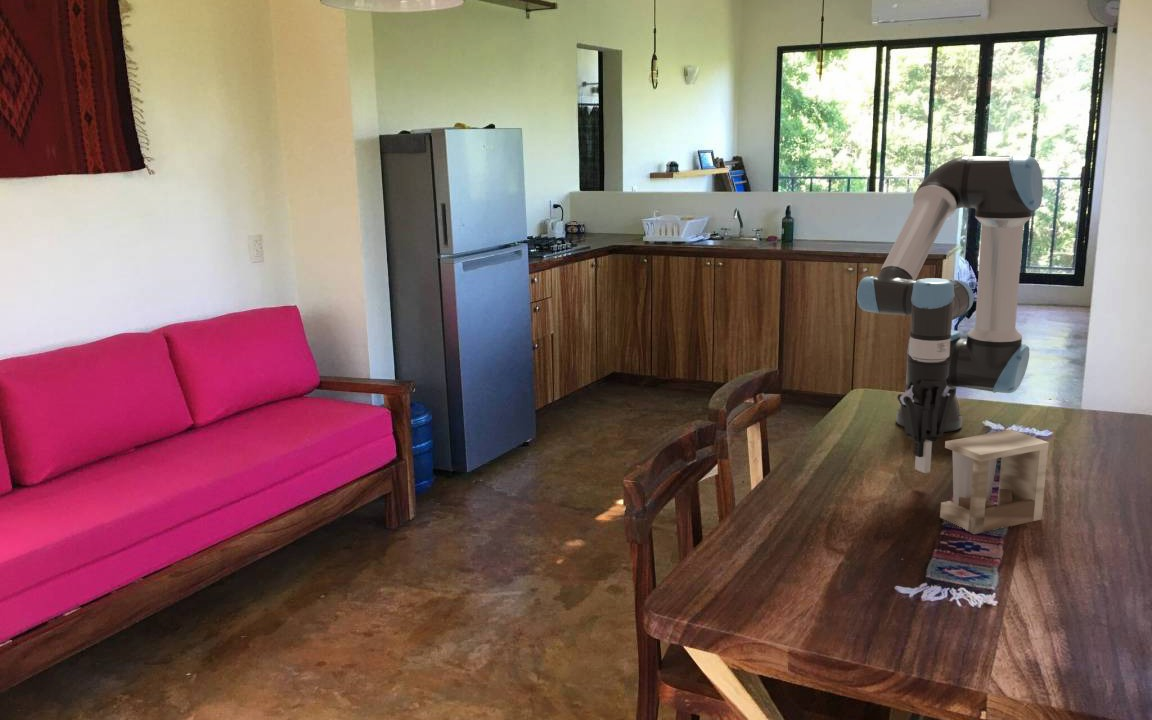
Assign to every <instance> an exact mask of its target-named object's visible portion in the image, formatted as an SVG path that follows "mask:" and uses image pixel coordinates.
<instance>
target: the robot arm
mask: <svg viewBox="0 0 1152 720" xmlns="http://www.w3.org/2000/svg"><path fill="white" fill-rule="evenodd" d="M1043 190H1044V186H1043V175H1042V170H1041V167H1040V163H1039V162H1038V161H1037V159H1035V158H1034V157H1032V156H1029V155H1028V156H1027V155H1017V154H1012V155H1011V154H1009V155H1008V154H1005V155H964V156H958V157H955V158H952V159H951V160H948V161H947V162H945V163H943V164H941V165H940V166H938V167H937V168H935V169H934V170H933V171H932V172H930V173H929V174H928V175H927V177H925V178H924V180H922V181H921V183H920V184H919V185H918V188H917V189H916V191H915V193H914V195H913V199H912V200H913V201H912V202H913V206H912V209H911V210H910V212H909V215H908V216H907V219H906V220H905V222H904V225H902V228H901V229H900V232H899V234H898V235H897V237H896V240H895V241H894V244H892V247H891V249H890V251H889V253H888V255H887V257H886V259H885V261H884V263H883V265H882V266H881V269H880V270H879V272H878V273H877V275H876V276H875V275H872V276H871V275H870V276H864V277H862V278H861V280H860V281H859V283H858V287H857V291H856V301H857V305H858V307H859V308H860V309H861V311H865V312H868V313H869V312H870V313H874V314H875V313H876V314H885V315H898V316H910V332H909V339H908V346H907V347H908V348H907V351H906V354H907V355H906V356H907V357H906V374H905V375H906V377H905V390H904V391H905V392H904V393H903V394H901V393H899V394H898V395H897V401H898V402H899V404H900V407H899V408H898V409H897V412H896V420H895V421H896V423H897V424H898V425H900V426H901V427H903V428H904V431H905V432H904V433H905V437H906V438H908V439H910V440H913V442H914V443H913V455H914V456H915V462H914V469H915V470H917V471H919V472H921V473H922V474H923V473H924V474H927V473H931V463H932V455H934V450H935V449H934V448H935V446H934V445H935V442H938V441H939V437H942V436H943V435H944V433H948V432H955V431H957V430H960V429H961V428H962V422H963V417H962V414H961V412H960V406H959V402H958V399H957V388H965V389H970V390H971V389H974V390H979V391H984V392H985V391H986V392H992V393H994V394H995V393H1002V394H1003V393H1005V394H1013V393H1014V392H1016V390H1018V389H1019V387H1020V386H1021V384H1022V381H1023V379H1024V377H1025V375H1026V373H1027V372H1026V371H1027V370H1028V369H1027V368H1028V365H1029V361H1030V347H1029V346H1028V345H1026V344H1023V343H1022V342H1023V340H1022V339H1023V336H1022V335H1023V334H1021V333H1020V332H1019V330H1017V329H1016V326H1017V325H1016V324H1017V314H1018V313H1017V310H1018V297H1019V296H1018V295H1019V287H1020V275H1021V274H1020V273H1021V259H1022V248H1023V247H1022V246H1023V245H1022V244H1023V237H1024V236H1023V234H1024V225H1025V224H1026V223H1027V222H1028V221H1029V220H1030V219H1032V215H1033V211H1035V210H1038V209H1040V207H1041V204H1042V201H1043V199H1042V198H1043V193H1044V191H1043ZM961 208H963V209H964V208H966V209H975V210H974V211H975V215H974V217H975V219H976V220H977V221H978V222H979V223H980V225H981V229H980V233H981V234H980V243H979V244H980V245H979V246H980V247H979V249H980V250H979V262H978V263H979V264H978V273H977V275H978V276H977V277H978V278H977V279H978V280H977V292H976V306H975V321H974V322H975V323H974V327H973V328H972V329H971V330H969V331H968V332H967V336H966V337H967V338H963V337H962V335H961V332H960V331H959V330H954V329H952V325H953V323H952V322H953V320H956V319H957V318H961V317H962V316H964V315H965V314H966V313H967V312H968V311H969V310H970V309H971V308H972V306H973V303H974V301H975V297H974V295H975V294H974V292H973V290H972V288H971V286H970V285H969V284H968V283H966V282H965V281H963V280H959V279H946V278H937V277H936V278H935V277H931V278H930V277H928V278H927V277H925V278H921V279H917V278H918V276H919V274H920V271H921V270H922V268H923V265H924V264H925V261H926V259H927V258H928V256H929V253H930V252H931V249H932V247H933V245H934V243H935V241H936V239H937V238H938V237H939V233H940V231H941V229H942V227H943V226H944V223H945V222H946V220H947V219H948V218H949V217H951V216H953V215H954V213H955V212H956V210H958V209H961Z"/></svg>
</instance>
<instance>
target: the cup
mask: <svg viewBox="0 0 1152 720" xmlns="http://www.w3.org/2000/svg"><path fill="white" fill-rule="evenodd" d="M951 451H952V495H953V496H952V500H953V501H952V502H953V503H955V504H959V497H963V498H971V487H972V474H973V461H974V459H973V458H970V457H968V456H965V455H963V454H960V453H958V452H955V451H953V450H951ZM997 462H998V458H996V459H991V460H989V465H988V477H987V490H986V500H989V501H991V498H992V491H993V485H994V481H995V475H996V474H995V473H996V468H997Z"/></svg>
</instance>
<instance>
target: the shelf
mask: <svg viewBox="0 0 1152 720" xmlns="http://www.w3.org/2000/svg"><path fill="white" fill-rule="evenodd" d="M1049 444H1050V441H1046V440H1044V439H1040V438H1037V437H1034V436H1032V435H1029V434H1026V433H1023V432H1020V431H1017V430H1015V429H1006V430H1002V431H997V432H989V433H984V434H980V435H974V436H972V435H971V436H967V437H963V438H962V437H961V438H957V439H951V440H945V441H944V448H945V449H947V450H950V451H952V450H953V451H955V452H958V453H960V454H963V455H965V456H968V457H970V458H973V459H974V461H973V474H972V487H971V498H963V497H959V504H955V503H953V501H951V500H947V501H943V502H940V511H939V512H940V513H939V518H940V519H942V520H944V521H946V520H947V521H946V522H948V521H949V522H948V523H950V522H951V523H950V524H952V523H953V525H954V524H956V525H957V526H956V525H955V526H956V527H958V526H959V528H960V527H962V528H963V530H964V529H965V531H966V532H968V533H971V534H972V535H977V534H983V533H986V532H985V531H988V532H991V531H990V530H992V531H995V530H994V529H996V530H998V529H997V528H1001V529H1003V528H1002V527H1005V528H1009V526H1010V527H1014V526H1017V525H1022V524H1026V523H1032V522H1036V521H1041V520H1042V516H1043V510H1044V509H1043V506H1044V496H1045V488H1046V487H1045V486H1046V476H1047V465H1048V454H1049V446H1050V445H1049ZM996 458H997V459H1000V470H999V471H1000V472H999V480H998V481H999V482H998V494H997V496H998V497H997V504H998V505H996V506H995V501H994V500H990V501H989V500H986V490H987V477H988V465H989V460H991V459H996ZM962 528H961V529H962ZM982 532H983V533H982Z"/></svg>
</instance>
